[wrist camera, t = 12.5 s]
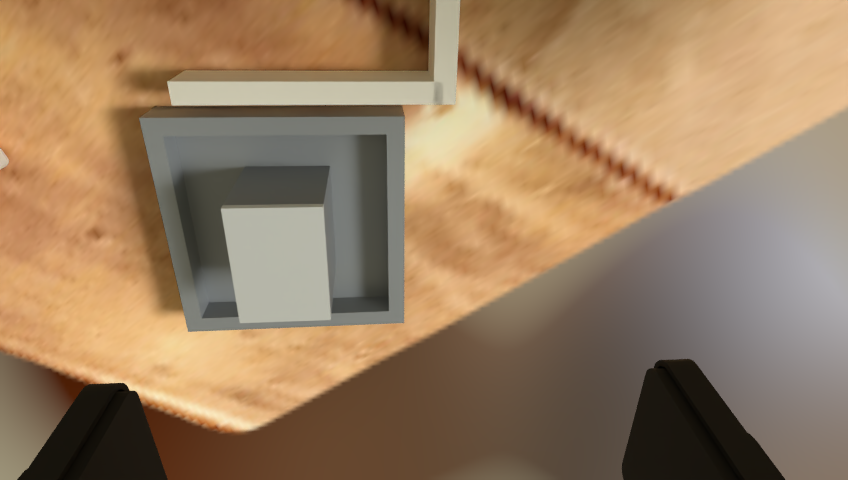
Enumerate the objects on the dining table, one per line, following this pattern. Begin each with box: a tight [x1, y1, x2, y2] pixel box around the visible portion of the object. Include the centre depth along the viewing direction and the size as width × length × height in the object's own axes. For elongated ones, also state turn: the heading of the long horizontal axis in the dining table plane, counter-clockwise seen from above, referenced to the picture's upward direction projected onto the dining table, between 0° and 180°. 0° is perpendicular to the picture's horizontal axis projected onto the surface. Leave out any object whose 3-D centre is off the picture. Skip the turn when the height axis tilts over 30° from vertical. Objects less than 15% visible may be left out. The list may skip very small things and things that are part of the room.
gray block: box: [221, 166, 336, 323], centre depth 31 cm, size 5×7×6 cm
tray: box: [139, 106, 405, 332], centre depth 33 cm, size 14×14×2 cm
